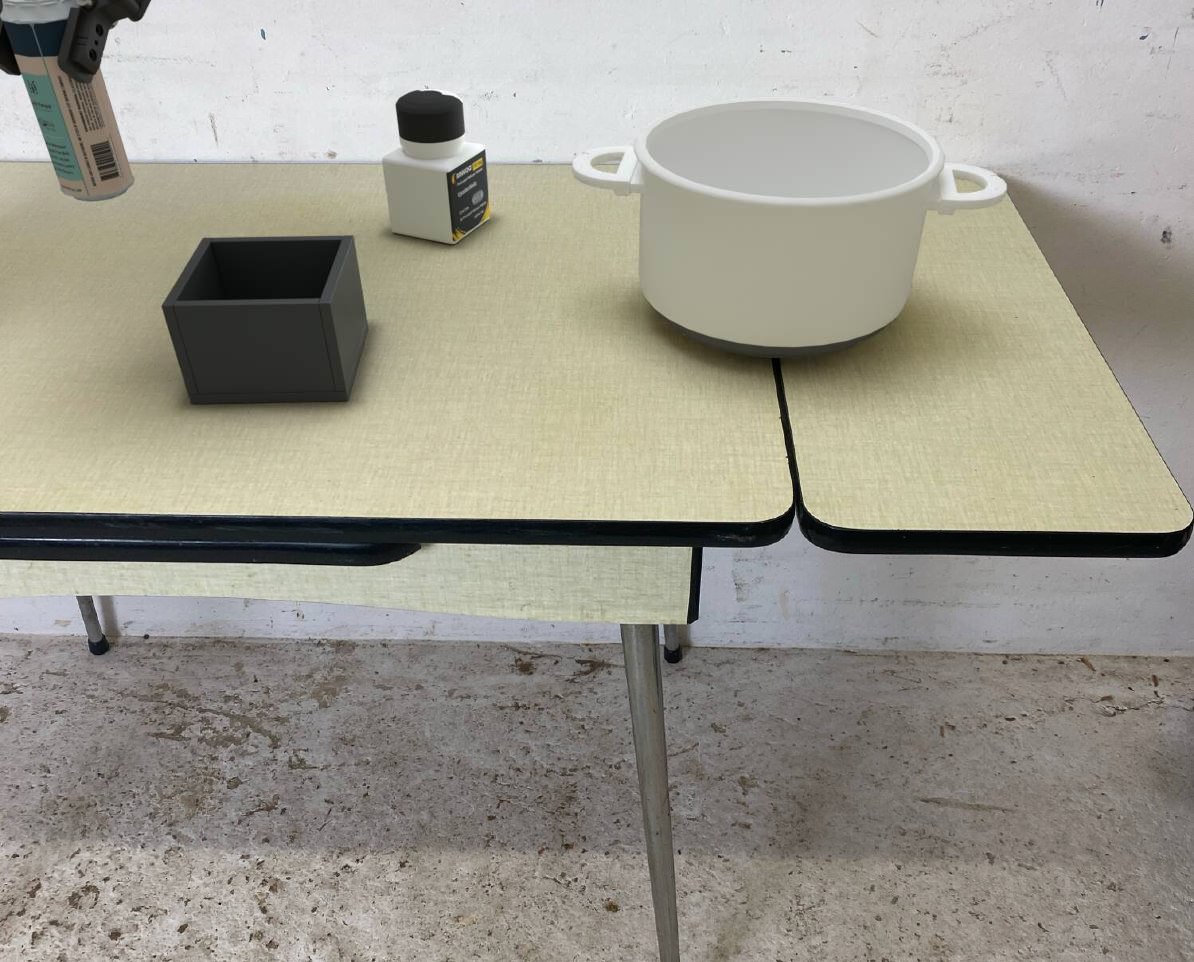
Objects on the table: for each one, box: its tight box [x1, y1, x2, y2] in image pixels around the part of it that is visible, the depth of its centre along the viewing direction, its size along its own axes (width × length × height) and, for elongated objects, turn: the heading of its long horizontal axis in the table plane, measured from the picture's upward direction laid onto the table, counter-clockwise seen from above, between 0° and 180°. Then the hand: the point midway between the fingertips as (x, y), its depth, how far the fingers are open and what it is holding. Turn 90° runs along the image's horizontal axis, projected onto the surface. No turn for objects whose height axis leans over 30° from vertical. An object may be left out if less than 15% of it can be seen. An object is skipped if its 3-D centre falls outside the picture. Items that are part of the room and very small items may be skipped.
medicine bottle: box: [381, 88, 491, 245], centre depth 98 cm, size 7×7×12 cm
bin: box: [161, 234, 369, 405], centre depth 79 cm, size 12×12×8 cm
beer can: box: [0, 0, 136, 203], centre depth 68 cm, size 5×5×12 cm
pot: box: [571, 96, 1008, 359], centre depth 84 cm, size 33×23×14 cm
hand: (37, 71), depth 65 cm, fingers closed on beer can, 4 cm apart
